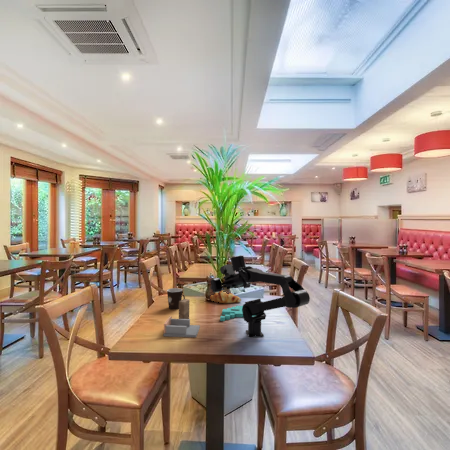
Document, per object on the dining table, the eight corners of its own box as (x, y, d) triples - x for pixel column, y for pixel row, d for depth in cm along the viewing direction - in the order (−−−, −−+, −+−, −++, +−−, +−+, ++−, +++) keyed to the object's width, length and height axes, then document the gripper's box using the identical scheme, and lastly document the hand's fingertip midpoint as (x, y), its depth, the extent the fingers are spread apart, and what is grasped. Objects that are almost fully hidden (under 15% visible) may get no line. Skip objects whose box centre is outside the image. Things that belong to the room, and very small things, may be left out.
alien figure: (261, 323, 138) (260, 310, 158) (261, 319, 138) (260, 306, 158) (220, 321, 140) (224, 309, 160) (220, 317, 140) (224, 305, 160)
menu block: (189, 322, 138) (189, 299, 138) (184, 325, 133) (184, 302, 133) (183, 321, 139) (183, 298, 139) (178, 324, 134) (178, 301, 134)
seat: (199, 327, 131) (200, 316, 131) (196, 337, 120) (196, 325, 120) (169, 326, 132) (169, 315, 132) (163, 336, 121) (163, 324, 121)
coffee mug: (165, 306, 162) (165, 288, 161) (180, 304, 165) (180, 287, 165) (170, 312, 151) (170, 294, 151) (185, 310, 155) (186, 292, 154)
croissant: (241, 307, 174) (242, 294, 178) (240, 303, 165) (241, 290, 169) (207, 304, 178) (209, 291, 181) (204, 300, 169) (206, 287, 172)
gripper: (247, 261, 141) (228, 269, 152) (218, 264, 129) (199, 272, 140) (253, 283, 138) (233, 289, 149) (223, 289, 126) (204, 295, 137)
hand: (217, 286), depth 144 cm, fingers open, 9 cm apart
